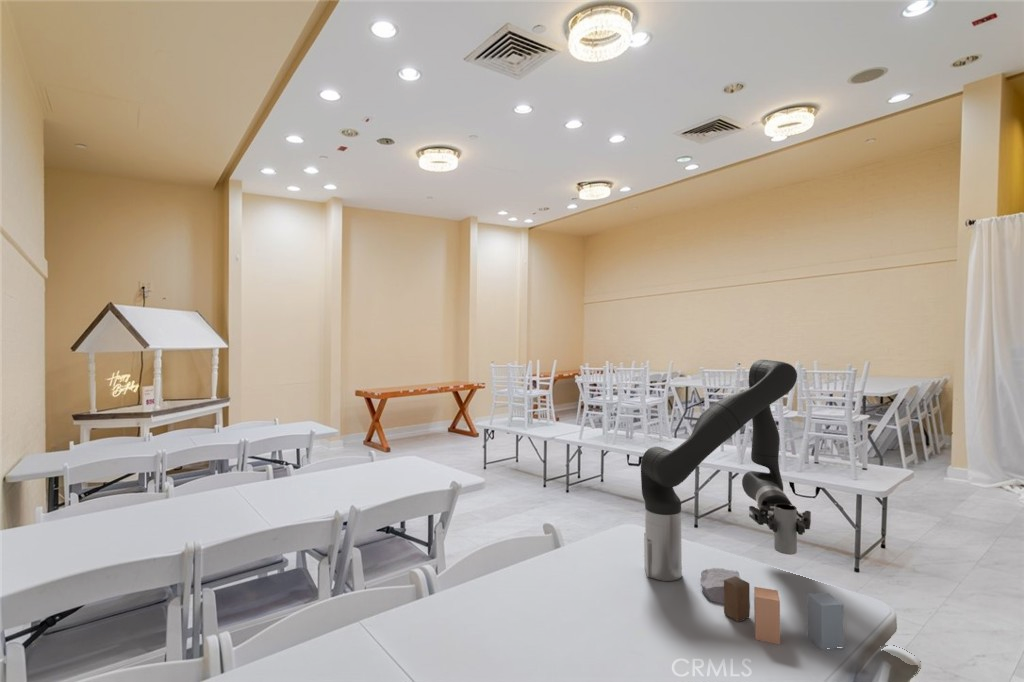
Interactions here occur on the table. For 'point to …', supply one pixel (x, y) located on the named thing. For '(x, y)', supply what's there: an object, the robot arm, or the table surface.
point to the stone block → (715, 582)
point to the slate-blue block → (825, 620)
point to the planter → (785, 528)
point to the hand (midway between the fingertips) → (788, 529)
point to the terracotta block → (767, 615)
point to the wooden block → (736, 598)
